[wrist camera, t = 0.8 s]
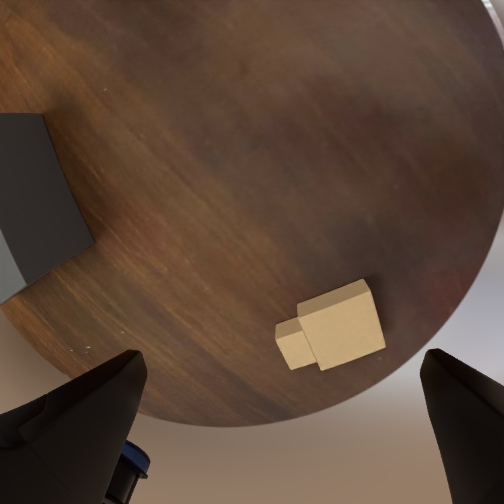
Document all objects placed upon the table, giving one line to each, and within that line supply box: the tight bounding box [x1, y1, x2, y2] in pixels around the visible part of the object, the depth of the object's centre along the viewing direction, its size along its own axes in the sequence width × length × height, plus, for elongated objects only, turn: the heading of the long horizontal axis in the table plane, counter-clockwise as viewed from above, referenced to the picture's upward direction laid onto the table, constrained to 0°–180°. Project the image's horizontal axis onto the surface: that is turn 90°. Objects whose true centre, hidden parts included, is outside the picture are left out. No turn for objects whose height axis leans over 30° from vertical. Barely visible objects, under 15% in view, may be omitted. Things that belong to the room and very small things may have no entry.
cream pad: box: [275, 279, 386, 371], centre depth 20 cm, size 5×7×2 cm
